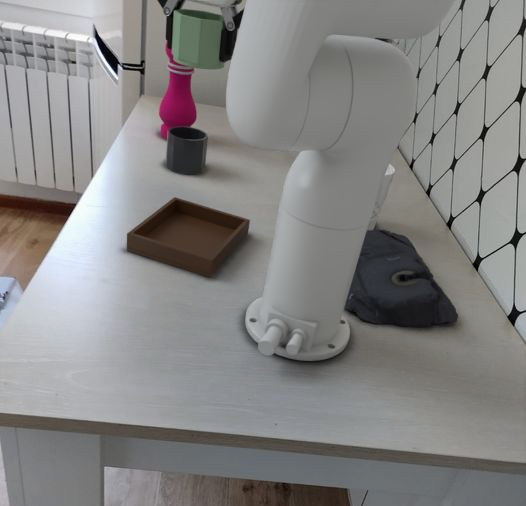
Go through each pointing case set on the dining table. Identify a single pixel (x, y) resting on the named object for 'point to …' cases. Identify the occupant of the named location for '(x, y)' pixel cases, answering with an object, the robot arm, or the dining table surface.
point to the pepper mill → (177, 97)
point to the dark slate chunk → (396, 284)
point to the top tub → (197, 38)
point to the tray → (188, 236)
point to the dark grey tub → (186, 150)
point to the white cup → (381, 196)
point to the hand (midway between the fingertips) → (199, 53)
